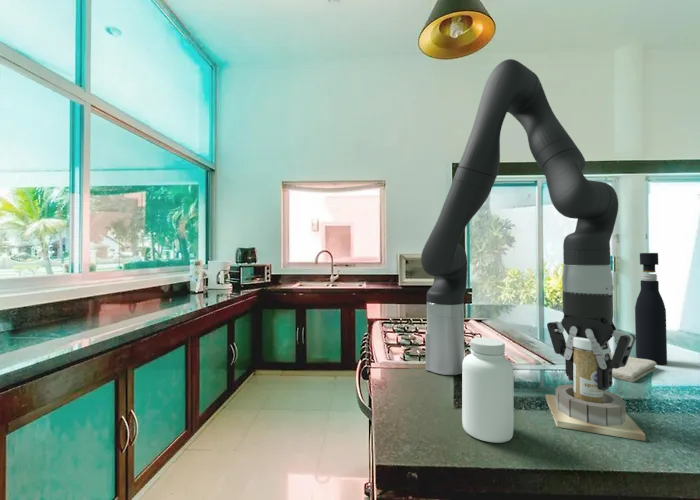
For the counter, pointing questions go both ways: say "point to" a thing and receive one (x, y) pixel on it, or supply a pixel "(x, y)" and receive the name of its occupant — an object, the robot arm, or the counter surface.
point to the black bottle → (650, 315)
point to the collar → (593, 414)
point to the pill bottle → (488, 391)
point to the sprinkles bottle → (585, 372)
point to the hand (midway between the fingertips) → (588, 383)
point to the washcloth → (633, 369)
